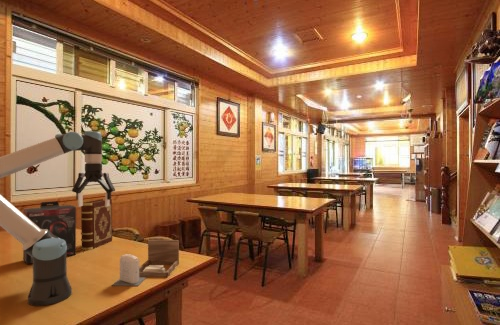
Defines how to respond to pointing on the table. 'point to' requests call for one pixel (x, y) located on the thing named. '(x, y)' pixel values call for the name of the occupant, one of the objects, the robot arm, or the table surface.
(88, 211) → the decorative book
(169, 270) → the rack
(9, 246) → the table surface
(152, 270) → the offcut stack
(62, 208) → the headset box
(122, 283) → the mat
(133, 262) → the photo printer
